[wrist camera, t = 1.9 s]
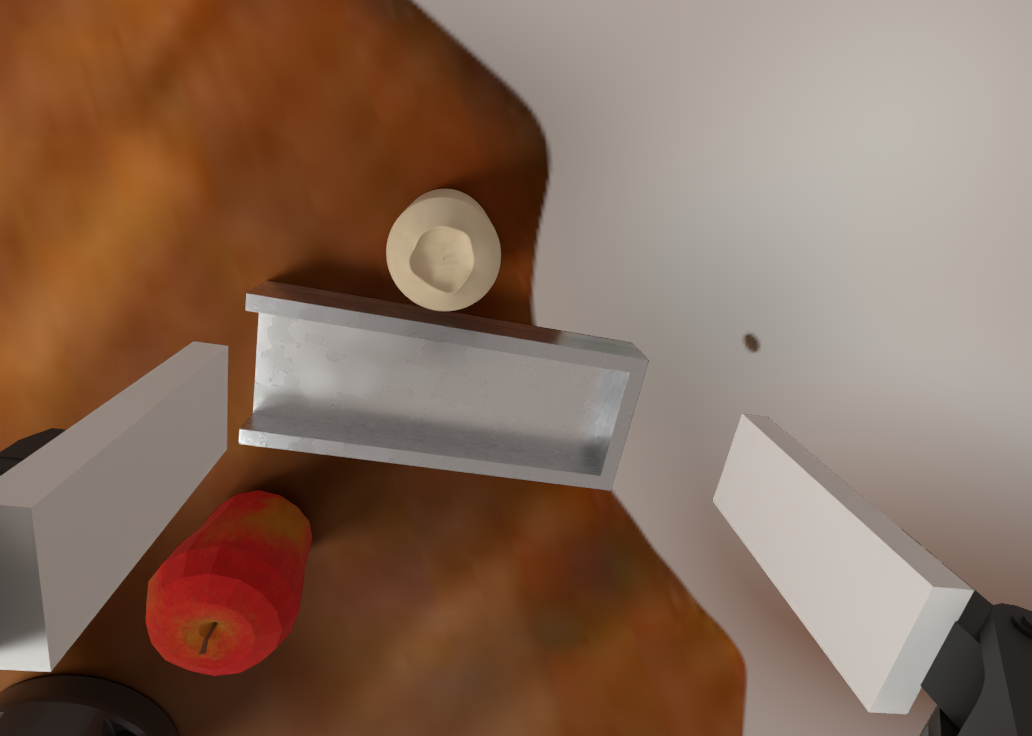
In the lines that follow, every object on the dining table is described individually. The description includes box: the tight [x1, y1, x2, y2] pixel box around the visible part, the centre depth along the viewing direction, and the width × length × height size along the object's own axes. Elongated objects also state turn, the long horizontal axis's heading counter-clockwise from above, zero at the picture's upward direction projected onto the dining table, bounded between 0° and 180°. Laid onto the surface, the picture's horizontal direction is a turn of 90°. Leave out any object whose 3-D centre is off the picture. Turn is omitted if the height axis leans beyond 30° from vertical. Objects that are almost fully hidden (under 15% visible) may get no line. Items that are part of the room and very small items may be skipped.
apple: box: [146, 490, 312, 676], centre depth 36 cm, size 9×8×12 cm
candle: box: [386, 189, 501, 311], centre depth 31 cm, size 6×6×10 cm
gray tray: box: [239, 280, 649, 491], centre depth 37 cm, size 24×10×4 cm, turn 78°
